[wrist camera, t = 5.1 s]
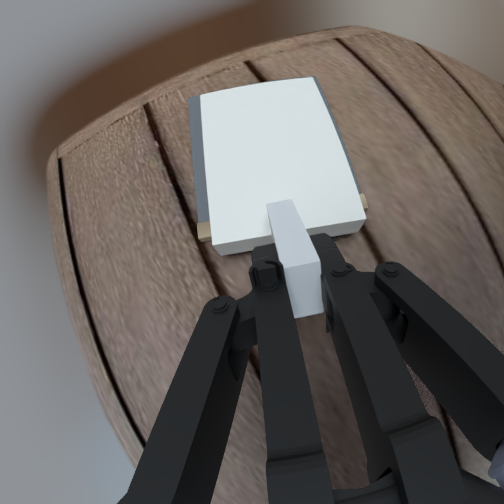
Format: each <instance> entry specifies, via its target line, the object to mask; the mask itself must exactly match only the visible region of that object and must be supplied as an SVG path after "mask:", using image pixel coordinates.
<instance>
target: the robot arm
mask: <svg viewBox="0 0 504 504" xmlns="http://www.w3.org/2000/svg"><path fill="white" fill-rule="evenodd" d="M266 207H267V212H268V217H269V223H270V228H271V233H272V239H273V243H272V244H267V245H262V246H257V247H255V248H254V249H253V251H252V253H251V255H252V266H251V267H250V269H249V276H250V280H251V284H252V287H253V289H252V291H251V292H250V293H249V294H248V295H246V296H244V297H243V298H240V299H238V300H235V299H234V298H232V297H231V296H218V297H215V298H213V299H211V300H210V301H209V302H207V304H206V305H205V306H204V308H203V311H202V313H201V315H200V317H199V320H198V322H197V324H196V327H195V329H194V331H193V333H192V336H191V338H190V340H189V343H188V345H187V347H186V350H185V352H184V354H183V357H182V359H181V361H180V364H179V366H178V368H177V371H176V373H175V376H174V378H173V380H172V383H171V385H170V387H169V390H168V392H167V395H166V397H165V399H164V402H163V404H162V407H161V409H160V411H159V414H158V416H157V419H156V421H155V424H154V426H153V429H152V431H151V433H150V436H149V438H148V441H147V443H146V446H145V448H144V451H143V453H142V456H141V458H140V461H139V463H138V466H137V468H136V471H135V474H134V476H133V479H132V481H131V484H130V486H129V489H128V492H127V493H126V494H125V496H124V497H123V498H122V499H121V500H120V501H119V502H118V503H117V504H210V503H211V499H212V496H213V492H214V488H215V485H216V481H217V478H218V474H219V470H220V467H221V463H222V459H223V456H224V452H225V448H226V444H227V441H228V437H229V433H230V429H231V426H232V422H233V418H234V414H235V410H236V406H237V402H238V398H239V395H240V391H241V387H242V383H243V379H244V375H245V371H246V367H247V363H248V359H249V355H250V347H252V346H254V345H257V344H258V353H259V364H260V375H261V387H262V398H263V409H264V420H265V431H266V442H267V454H268V459H267V462H266V477H267V489H268V500H269V504H504V355H503V354H502V353H501V352H500V351H499V350H498V349H497V348H496V347H495V346H494V345H493V344H492V343H491V342H490V341H489V340H488V339H486V338H485V337H484V336H483V335H482V334H481V333H480V332H479V331H478V330H477V329H476V328H475V327H474V326H473V325H472V324H471V323H470V322H468V321H467V320H466V319H465V318H464V317H463V316H462V315H461V314H460V313H459V312H457V311H456V310H455V309H454V308H453V307H452V306H451V305H449V304H448V303H447V302H446V301H445V300H444V299H443V298H441V297H440V296H439V295H438V294H437V293H436V292H434V291H433V290H432V289H431V288H430V287H429V286H427V285H426V284H425V283H424V282H422V281H421V280H420V279H419V278H418V277H416V276H415V275H414V274H413V273H411V272H410V271H409V270H408V269H407V268H405V267H404V266H403V265H401V264H399V263H396V262H383V263H380V264H379V265H377V267H376V268H375V272H360V271H356V269H355V267H354V266H353V265H351V264H349V263H346V262H345V260H344V258H343V256H342V254H341V253H340V251H339V249H338V248H337V246H336V244H335V242H334V241H333V239H332V237H331V236H329V235H328V234H326V233H320V234H315V235H308V233H307V230H306V228H305V226H304V224H303V222H302V220H301V218H300V216H299V213H298V211H297V209H296V207H295V205H294V203H293V201H292V199H289V200H283V201H278V202H273V203H267V204H266ZM323 305H324V308H325V311H326V332H327V333H328V332H329V331H330V334H331V337H332V340H333V343H334V346H335V349H336V353H337V356H338V359H339V362H340V365H341V369H342V372H343V375H344V378H345V382H346V385H347V388H348V392H349V395H350V398H351V402H352V405H353V409H354V412H355V416H356V419H357V423H358V427H359V430H360V434H361V438H362V441H363V445H364V449H365V453H366V457H367V471H368V478H369V482H370V485H369V486H367V487H365V488H362V489H348V490H332V487H331V481H330V476H329V471H328V466H327V461H326V457H325V453H324V451H323V447H322V443H321V438H320V433H319V428H318V423H317V418H316V414H315V409H314V404H313V399H312V395H311V390H310V385H309V381H308V376H307V371H306V367H305V362H304V358H303V353H302V349H301V345H300V340H299V336H298V331H297V327H296V323H295V318H299V317H304V316H309V315H314V314H318V313H323V312H324V311H323ZM403 359H404V360H405V361H406V363H407V364H408V365H409V366H410V367H411V369H412V370H413V371H414V372H415V373H416V375H417V376H418V377H419V378H420V379H421V381H422V382H423V383H424V384H425V385H426V387H427V388H428V389H429V390H430V392H431V393H432V394H433V395H434V397H435V398H436V399H437V400H438V402H439V403H440V404H441V405H442V407H443V408H444V409H445V410H446V412H447V413H448V414H449V416H450V417H451V418H452V419H453V421H454V422H455V423H456V425H457V426H458V427H459V428H460V430H461V431H462V432H463V434H464V435H465V436H466V438H467V439H468V440H469V442H470V443H471V444H472V445H473V446H474V448H475V449H476V450H477V451H478V452H479V453H480V454H482V455H483V456H484V457H485V458H486V459H488V460H489V461H491V462H492V463H491V466H490V468H489V470H488V475H489V477H490V478H492V479H496V480H497V482H498V483H499V485H500V487H498V486H496V485H493V484H491V483H489V482H487V481H485V480H483V479H481V478H479V477H477V476H475V475H473V474H471V473H469V472H467V471H465V470H463V469H461V468H460V467H458V465H457V462H456V460H455V457H454V454H453V451H452V449H451V446H450V443H449V441H448V438H447V436H446V433H445V431H444V428H443V426H442V424H441V422H440V421H439V420H438V419H437V418H436V417H433V416H430V415H429V414H428V413H427V411H426V410H425V407H424V405H423V402H422V400H421V398H420V395H419V393H418V391H417V389H416V386H415V384H414V382H413V380H412V377H411V375H410V373H409V371H408V369H407V367H406V364H405V362H404V360H403Z"/></svg>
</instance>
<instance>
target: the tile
mask: <svg viewBox="0 0 504 504" xmlns="http://www.w3.org/2000/svg"><path fill="white" fill-rule="evenodd" d="M200 102H201V119H202V133H203V147H204V160H205V172H206V184H207V195H208V206H209V216H210V226H211V235H212V245H213V246H214V248H215V249H216V250H217V252H218V253H219V254H220V255H221V256H223V255H229V254H235V253H240V252H246V251H252V250H253V249H254V248H255V247H257V246H262V245H267V244H272V243H273V239H272V233H271V228H270V223H269V217H268V212H267V207H266V204H267V203H273V202H278V201H283V200H289V199H292V201H293V203H294V205H295V207H296V209H297V211H298V213H299V216H300V218H301V220H302V222H303V224H304V226H305V228H306V230H307V233H308V235H315V234H320V233H326V234H328V235H329V236H331V237H332V236H338V235H344V234H350V233H356V232H358V231H359V230H360V228H361V227H362V225H363V223H364V222H365V220H366V216H365V212H364V209H363V206H362V202H361V199H360V196H359V193H358V190H357V187H356V184H355V181H354V178H353V175H352V172H351V169H350V167H349V164H348V161H347V158H346V155H345V153H344V150H343V147H342V145H341V142H340V140H339V137H338V135H337V132H336V130H335V127H334V125H333V122H332V120H331V117H330V115H329V113H328V110H327V108H326V106H325V103H324V101H323V99H322V97H321V94H320V92H319V90H318V88H317V86H316V84H315V81H314V79H313V77H308V78H298V79H288V80H280V81H273V82H265V83H259V84H253V85H247V86H241V87H236V88H231V89H226V90H221V91H216V92H212V93H207V94H203V95H200Z"/></svg>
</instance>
